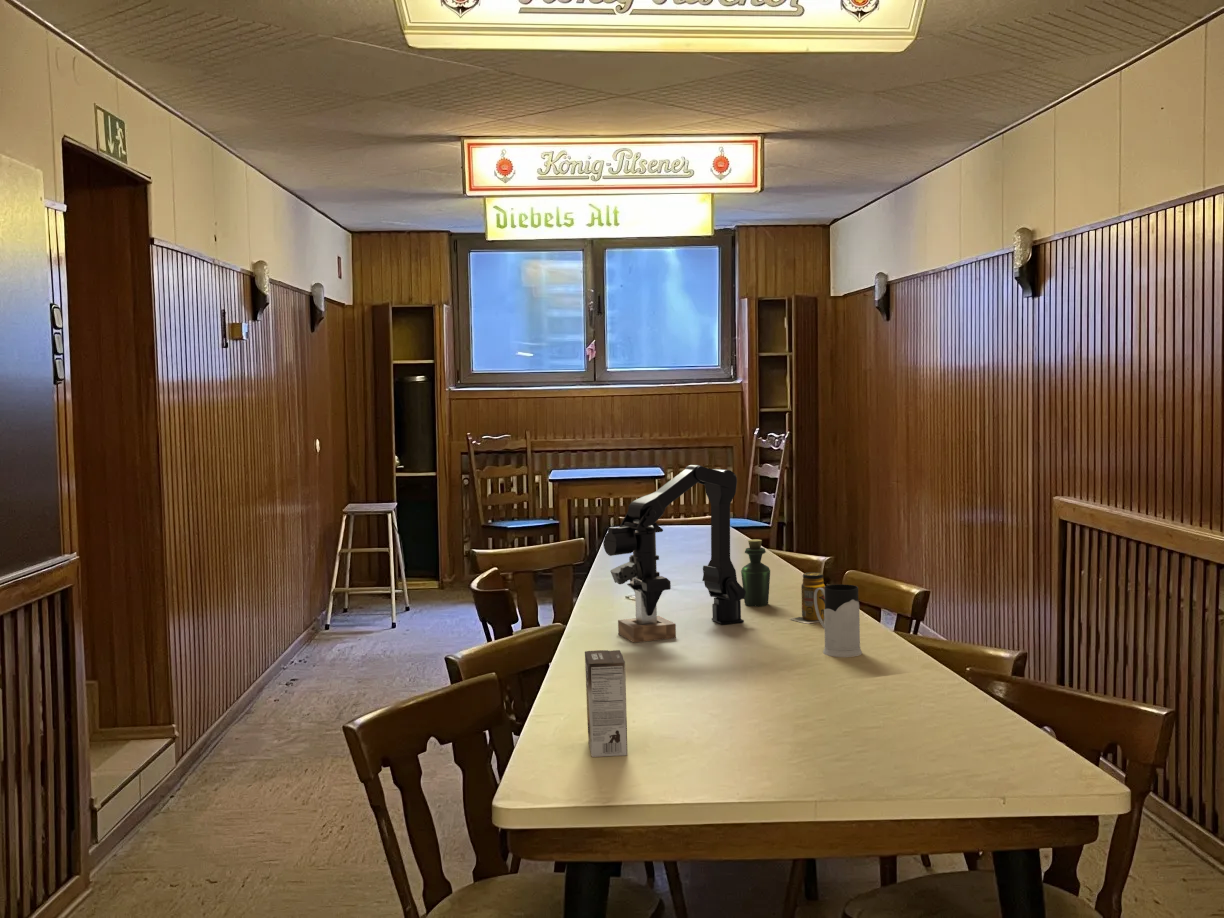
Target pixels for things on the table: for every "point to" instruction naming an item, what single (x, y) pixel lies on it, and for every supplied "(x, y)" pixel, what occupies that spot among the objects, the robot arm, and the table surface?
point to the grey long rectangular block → (643, 611)
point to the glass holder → (840, 620)
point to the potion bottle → (755, 576)
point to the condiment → (811, 598)
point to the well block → (646, 630)
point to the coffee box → (606, 703)
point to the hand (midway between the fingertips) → (646, 613)
